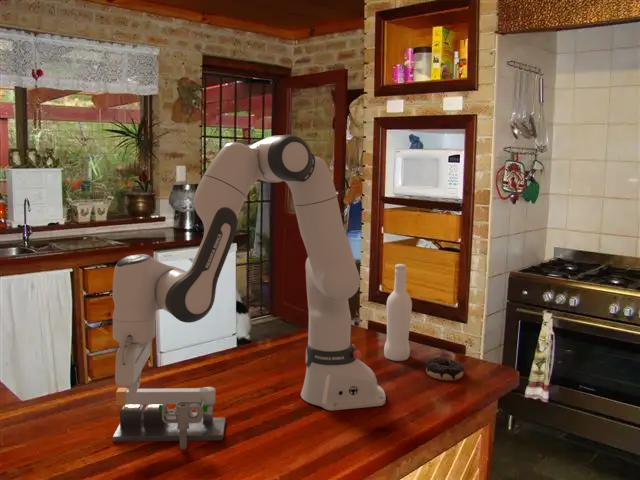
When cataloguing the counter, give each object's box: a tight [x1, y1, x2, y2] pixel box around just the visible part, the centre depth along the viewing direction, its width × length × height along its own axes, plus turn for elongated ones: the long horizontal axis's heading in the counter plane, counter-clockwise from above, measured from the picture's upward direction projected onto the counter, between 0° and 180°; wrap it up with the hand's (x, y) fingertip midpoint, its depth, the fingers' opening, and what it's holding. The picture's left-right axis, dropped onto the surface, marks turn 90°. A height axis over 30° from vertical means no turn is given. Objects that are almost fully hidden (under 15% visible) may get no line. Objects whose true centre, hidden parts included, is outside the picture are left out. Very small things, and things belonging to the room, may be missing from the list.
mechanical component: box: [158, 401, 207, 450], centre depth 135 cm, size 3×10×10 cm, turn 95°
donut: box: [425, 356, 465, 382], centre depth 184 cm, size 11×12×4 cm
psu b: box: [119, 404, 145, 426], centre depth 144 cm, size 5×4×4 cm
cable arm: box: [115, 386, 216, 407], centre depth 144 cm, size 22×4×3 cm, turn 95°
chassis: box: [112, 404, 226, 443], centre depth 142 cm, size 24×9×6 cm, turn 95°
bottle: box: [383, 263, 413, 362], centre depth 195 cm, size 8×8×30 cm
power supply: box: [143, 404, 165, 426], centre depth 144 cm, size 5×4×4 cm
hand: (134, 390), depth 137 cm, fingers closed
